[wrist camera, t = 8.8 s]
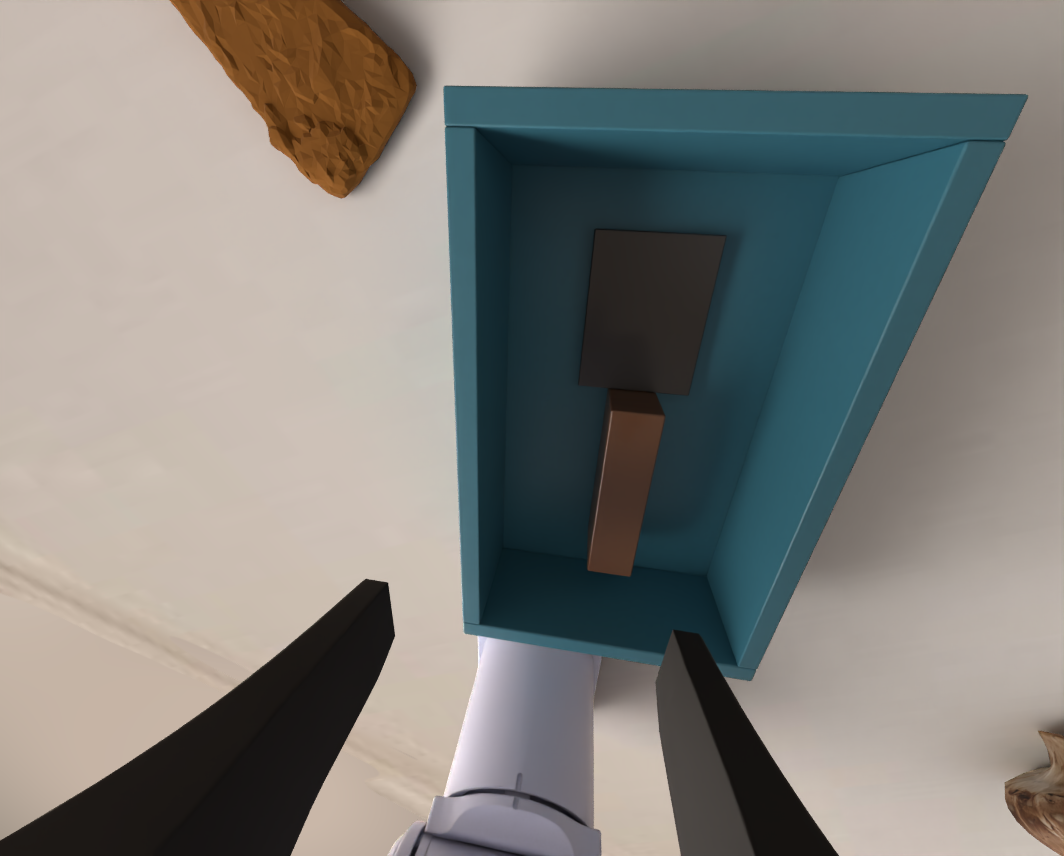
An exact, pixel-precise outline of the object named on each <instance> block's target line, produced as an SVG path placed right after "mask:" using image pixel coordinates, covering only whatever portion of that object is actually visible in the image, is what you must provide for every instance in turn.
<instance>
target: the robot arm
mask: <svg viewBox="0 0 1064 856" xmlns="http://www.w3.org/2000/svg"><path fill="white" fill-rule="evenodd" d="M394 637H395V632H394V624H393V617H392V609H391V602H390V594H389V586H388V583H387V582H381V581H375V580H369V579H365V580H364V581H362V582H361V583H360V584H359V585H358V586H357V587H355V588H354V589H353V590H352V591H351V592H350V593H349V594H347V595H346V596H345V597H344V598H343V599H342V600H341V601H340V602H338V603H337V604H336V605H335V606H334V607H333V608H332V609H330V610H329V611H328V612H327V613H326V614H325V615H324V616H322V617H321V618H320V619H319V620H318V621H317V622H316V623H314V624H313V625H312V626H311V627H310V628H309V629H307V630H306V631H305V632H304V633H303V634H301V635H300V636H299V637H298V638H297V639H295V640H294V641H293V642H292V643H291V644H289V645H288V646H287V647H286V648H285V649H284V650H282V651H281V652H280V653H279V654H277V655H276V656H275V657H274V658H273V659H271V660H270V661H269V662H267V663H266V664H265V665H264V666H262V667H261V668H260V669H259V670H257V671H256V672H255V673H253V674H252V675H251V676H250V677H249V678H247V679H246V680H245V681H243V682H242V683H241V684H239V685H238V686H237V687H236V688H234V689H233V690H232V691H230V692H229V693H228V694H226V695H225V696H224V697H222V698H221V699H220V700H218V701H217V702H216V703H214V704H213V705H211V706H210V707H209V708H207V709H206V710H205V711H203V712H202V713H200V714H199V715H198V716H196V717H195V718H193V719H192V720H191V721H189V722H188V723H186V724H185V725H183V726H182V727H181V728H179V729H178V730H176V731H175V732H173V733H172V734H170V735H169V736H168V737H166V738H165V739H163V740H162V741H160V742H159V743H157V744H156V745H154V746H152V747H151V748H149V749H148V750H146V751H145V752H143V753H142V754H140V755H139V756H137V757H136V758H135V759H133V760H132V761H130V762H129V763H127V764H126V765H124V766H122V767H121V768H119V769H118V770H116V771H114V772H113V773H112V774H110V775H108V776H107V777H105V778H104V779H102V780H100V781H99V782H97V783H96V784H94V785H92V786H91V787H89V788H87V789H86V790H84V791H82V792H81V793H79V794H77V795H76V796H74V797H73V798H71V799H69V800H67V801H66V802H64V803H63V804H61V805H59V806H57V807H56V808H54V809H52V810H51V811H49V812H47V813H46V814H44V815H43V816H41V817H39V818H37V819H36V820H34V821H33V822H31V823H29V824H27V825H26V826H24V827H22V828H21V829H19V830H18V831H16V832H14V833H12V834H11V835H9V836H7V837H5V838H4V839H2V840H0V856H290V855H291V853H292V851H293V849H294V846H295V844H296V842H297V839H298V837H299V835H300V833H301V830H302V828H303V826H304V823H305V821H306V819H307V817H308V814H309V812H310V809H311V807H312V805H313V803H314V801H315V799H316V797H317V795H318V793H319V791H320V789H321V787H322V785H323V783H324V781H325V779H326V777H327V775H328V773H329V771H330V769H331V767H332V766H333V764H334V762H335V760H336V758H337V756H338V754H339V752H340V750H341V749H342V747H343V745H344V743H345V741H346V739H347V737H348V735H349V733H350V731H351V730H352V728H353V726H354V724H355V722H356V720H357V718H358V716H359V714H360V712H361V711H362V709H363V707H364V705H365V703H366V701H367V699H368V697H369V695H370V693H371V691H372V689H373V687H374V685H375V683H376V681H377V679H378V677H379V675H380V672H381V670H382V668H383V665H384V663H385V660H386V658H387V655H388V653H389V650H390V648H391V645H392V642H393V640H394ZM601 659H602V656H596V655H590V654H584V653H578V652H572V651H566V650H560V649H554V648H548V647H542V646H536V645H530V644H524V643H518V642H512V641H506V640H500V639H494V638H488V637H482V636H478V671H477V675H476V678H475V682H474V686H473V689H472V693H471V697H470V700H469V704H468V708H467V711H466V715H465V719H464V723H463V726H462V730H461V734H460V737H459V741H458V745H457V748H456V752H455V756H454V759H453V763H452V767H451V771H450V774H449V778H448V782H447V785H446V789H445V793H444V796H443V797H442V796H435V797H434V800H433V803H432V807H431V810H430V814H429V817H428V821H427V822H425V821H421V820H417V821H415V822H413V823H412V824H411V825H410V827H409V828H408V829H407V831H405V832H404V833H403V834H402V835H401V836H400V837H399V838H398V839H397V840H396V842H395V843H394V845H393V847H392V848H391V850H390V852H389V854H388V856H601V832H600V830H597V829H594V744H593V700H594V695H595V690H596V685H597V679H598V674H599V669H600V664H601ZM656 695H657V709H658V721H659V732H660V738H661V744H662V750H663V756H664V762H665V767H666V773H667V779H668V784H669V790H670V796H671V801H672V807H673V813H674V818H675V824H676V830H677V835H678V841H679V847H680V852H681V856H839V855H838V854H837V852H836V851H835V850H834V848H833V847H832V845H831V844H830V843H829V841H828V840H827V838H826V837H825V836H824V834H823V833H822V831H821V830H820V828H819V827H818V826H817V824H816V823H815V821H814V820H813V818H812V817H811V815H810V814H809V812H808V811H807V810H806V808H805V807H804V805H803V804H802V802H801V801H800V799H799V798H798V796H797V795H796V793H795V792H794V790H793V789H792V787H791V786H790V784H789V783H788V781H787V780H786V778H785V777H784V775H783V774H782V772H781V770H780V769H779V767H778V766H777V764H776V763H775V761H774V760H773V758H772V756H771V755H770V753H769V752H768V750H767V748H766V747H765V745H764V744H763V742H762V740H761V739H760V737H759V735H758V734H757V732H756V731H755V729H754V727H753V726H752V724H751V722H750V721H749V719H748V718H747V716H746V714H745V713H744V711H743V709H742V708H741V706H740V704H739V702H738V701H737V699H736V697H735V696H734V694H733V692H732V690H731V689H730V687H729V685H728V683H727V682H726V680H725V678H724V676H723V675H722V673H721V671H720V669H719V667H718V666H717V664H716V662H715V660H714V658H713V657H712V655H711V653H710V651H709V649H708V647H707V646H706V644H705V642H704V640H703V638H702V637H701V636H700V634H698V633H692V632H686V631H680V630H674V629H673V630H672V633H671V636H670V639H669V642H668V645H667V648H666V652H665V655H664V658H663V661H662V664H661V667H660V670H659V673H658V676H657V679H656Z"/></svg>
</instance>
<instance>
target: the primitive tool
mask: <svg viewBox="0 0 1064 856" xmlns="http://www.w3.org/2000/svg"><path fill="white" fill-rule="evenodd" d="M170 1H171V3H172V4H173V5H174V6H175V7H176V8H177V10H178V11H179V12H180V13H181V15H182V16H183V18H184V19H185V21H186V22H187V24H188V25H189V27H190V28H191V29H192V30H193V32H194V33H195V34H196V35H197V36H198V37H199V38H200V39H201V40H202V42H203V43H204V44H205V45H206V46H207V47H208V49H209V50H210V51H211V53H212V54H213V56H214V57H215V59H216V60H217V61H218V62H219V63H220V64H221V65H222V67H223V69H224V70H225V72H226V74H227V75H228V77H229V78H230V79H231V80H232V81H233V83H234V84H235V85H236V86H237V87H238V88H239V89H240V90H241V91H242V92H243V93H244V94H245V96H246V97H247V98H248V99H249V101H250V102H251V104H252V107H253V109H254V110H255V111H256V112H258V113H259V114H260V115H261V116H262V118H263V119H264V121H265V122H266V124H267V127H268V131H269V137H270V143H271V145H273V146H274V147H275V148H276V149H277V150H279V151H281V152H282V153H283V154H285V155H286V156H288V157H289V158H291V160H292V161H293V162H294V163H295V164H296V166H297V168H298V170H299V171H300V172H301V173H302V174H303V175H304V176H305V177H307V178H308V179H309V180H310V181H311V182H312V183H314V184H318V185H319V186H320V187H322V188H323V189H324V190H325V191H326V192H327V193H329V194H331V195H334V196H336V197H339V198H345V197H346V196H347V195H348V194H349V193H350V192H351V191H353V190H354V188H355V187H356V186H357V185H358V184H359V183H360V182H361V181H362V179H363V177H364V175H365V174H366V172H367V170H368V169H369V167H370V165H372V164H373V163H374V162H375V161H376V160H377V159H378V158H379V157H380V155H381V153H382V151H383V149H384V147H385V145H386V143H387V142H388V140H389V138H390V136H391V135H392V133H393V131H394V130H395V128H396V127H397V125H398V123H399V122H400V120H401V118H402V116H403V114H404V113H405V110H406V108H407V106H408V104H409V102H410V100H411V98H412V96H413V95H414V93H415V90H416V86H417V85H416V82H415V79H414V77H413V74H412V72H411V71H410V70H409V69H408V67H407V66H406V65H405V64H404V62H403V61H402V60H401V58H400V57H399V56H398V55H397V54H396V53H395V52H394V50H392V49H391V48H390V47H388V46H387V45H386V44H385V43H384V42H383V41H382V40H381V39H380V38H379V37H378V36H377V35H376V33H375V32H373V31H372V30H371V28H370V27H369V26H368V25H367V24H366V23H365V22H364V21H363V20H361V19H360V18H359V17H358V16H357V15H356V14H354V13H353V12H352V11H351V10H350V9H349V8H348V7H347V6H346V5H345V4H344V3H343V2H341V1H340V0H170Z"/></svg>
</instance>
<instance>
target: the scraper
mask: <svg viewBox="0 0 1064 856" xmlns="http://www.w3.org/2000/svg"><path fill="white" fill-rule="evenodd" d="M726 238H727V236H726V235H713V234H694V233H675V232H655V231H636V230H617V229H598V228H596V229H595V231H594V241H593V250H592V259H591V269H590V278H589V287H588V297H587V306H586V315H585V324H584V334H583V343H582V352H581V362H580V371H579V380H578V385H579V386H589V387H600V388H608V390H607V397H606V404H605V411H604V418H603V425H602V432H601V439H600V446H599V453H598V460H597V467H596V474H595V481H594V488H593V495H592V502H591V509H590V516H589V523H588V539H587V570H588V571H593V572H600V573H607V574H614V575H621V576H628V577H630V576H631V574H632V570H633V565H634V560H635V556H636V551H637V547H638V542H639V537H640V533H641V528H642V524H643V519H644V514H645V510H646V505H647V501H648V496H649V492H650V487H651V482H652V478H653V473H654V469H655V464H656V459H657V455H658V450H659V446H660V441H661V437H662V432H663V427H664V423H665V418H666V416H665V413H664V411H663V409H662V406H661V404H660V402H659V399H658V397H657V395H656V393H663V394H674V395H685V396H688V395H689V392H690V388H691V384H692V380H693V375H694V371H695V367H696V363H697V359H698V354H699V350H700V346H701V342H702V338H703V334H704V329H705V325H706V321H707V317H708V313H709V309H710V304H711V300H712V296H713V292H714V288H715V283H716V279H717V275H718V271H719V267H720V263H721V258H722V254H723V250H724V246H725V242H726Z"/></svg>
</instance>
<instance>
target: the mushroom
mask: <svg viewBox="0 0 1064 856" xmlns="http://www.w3.org/2000/svg"><path fill="white" fill-rule="evenodd" d="M1038 732H1039V734H1040V736H1041V737H1042V739H1043V741H1044V743H1045V745H1046V747H1047V750H1048V753H1049V758H1050V764H1051V766H1050V767H1043V768H1039V769H1036V770H1033V771H1029V772H1026V773H1023V774H1021V775H1019V776H1017V777H1015V778H1013V779H1011V780H1009V781H1007V782H1005V800H1006V803H1007V806H1008V809H1009V810H1010V812H1011V813H1012V815H1013V816H1014V818H1015V819H1016V821H1017V822H1018V823H1019V824H1020V825H1021V826H1022V827H1023V828H1024V829H1025V830H1026V831H1027V832H1028V833H1029V834H1031V835H1032V836H1033V837H1035V838H1036V839H1037V840H1039V841H1040V842H1041V843H1043V844H1044V845H1046V846H1047V847H1049V848H1050V849H1052V850H1053V851H1055V852H1056V853H1058V854H1059V855H1061V856H1064V736H1063V735H1059V734H1054V733H1049V732H1044V731H1038Z"/></svg>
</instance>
